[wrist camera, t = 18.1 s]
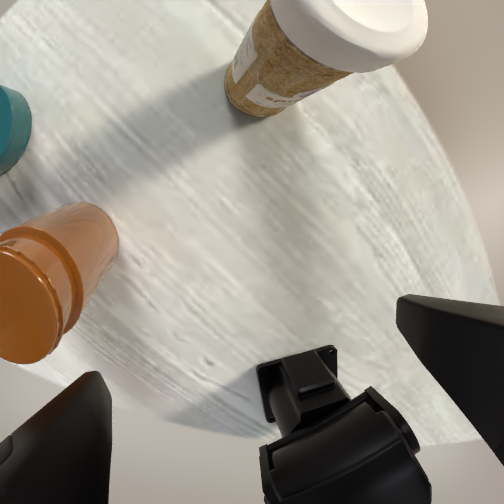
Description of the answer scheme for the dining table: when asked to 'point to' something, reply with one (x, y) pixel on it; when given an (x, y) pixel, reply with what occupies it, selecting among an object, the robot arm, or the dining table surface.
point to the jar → (51, 277)
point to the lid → (13, 127)
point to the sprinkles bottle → (318, 48)
